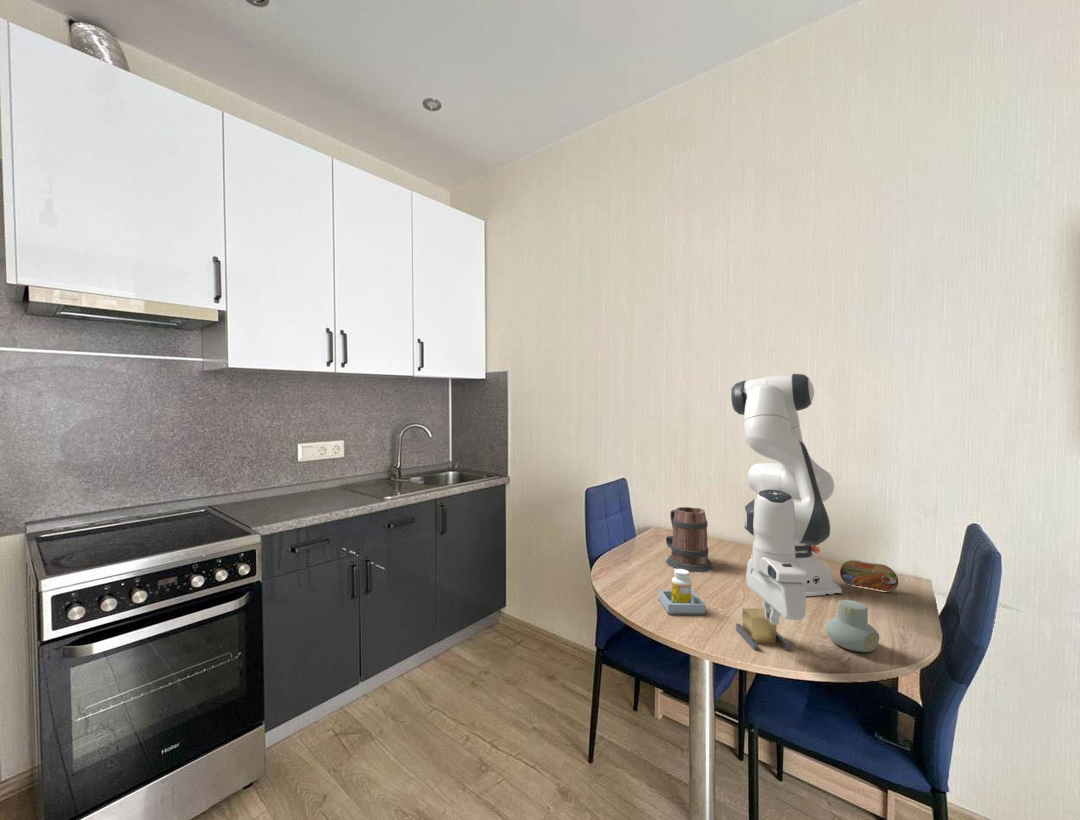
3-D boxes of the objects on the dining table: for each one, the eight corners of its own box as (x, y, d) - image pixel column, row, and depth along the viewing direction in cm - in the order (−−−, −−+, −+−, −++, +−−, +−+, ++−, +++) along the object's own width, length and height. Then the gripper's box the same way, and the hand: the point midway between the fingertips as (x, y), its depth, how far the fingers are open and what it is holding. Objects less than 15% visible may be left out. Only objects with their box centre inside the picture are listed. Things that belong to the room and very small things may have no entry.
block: (765, 632, 116) (766, 608, 116) (776, 642, 111) (776, 617, 111) (742, 632, 116) (742, 608, 116) (751, 642, 111) (751, 617, 111)
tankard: (724, 570, 161) (725, 513, 161) (680, 574, 157) (681, 515, 157) (687, 550, 183) (688, 500, 183) (648, 552, 179) (649, 501, 179)
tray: (692, 600, 135) (692, 590, 135) (704, 616, 125) (704, 605, 125) (658, 600, 135) (658, 589, 135) (668, 615, 125) (668, 604, 125)
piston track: (757, 617, 125) (757, 610, 125) (793, 651, 107) (793, 643, 107) (719, 616, 125) (719, 609, 125) (749, 651, 107) (749, 642, 107)
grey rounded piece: (846, 633, 116) (847, 594, 116) (883, 648, 109) (884, 606, 109) (821, 643, 111) (821, 602, 111) (858, 660, 104) (858, 616, 104)
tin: (839, 584, 149) (840, 559, 149) (839, 581, 152) (840, 556, 152) (898, 596, 141) (898, 568, 141) (897, 592, 144) (897, 565, 144)
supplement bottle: (693, 609, 127) (694, 574, 127) (674, 608, 127) (674, 574, 127) (687, 601, 133) (688, 568, 133) (669, 600, 133) (669, 567, 133)
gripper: (740, 548, 116) (738, 602, 116) (782, 577, 96) (780, 643, 96) (764, 549, 116) (763, 603, 116) (812, 578, 96) (811, 644, 96)
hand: (771, 621), depth 106 cm, fingers closed
